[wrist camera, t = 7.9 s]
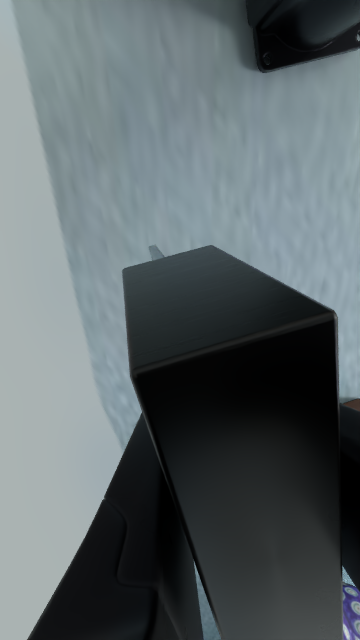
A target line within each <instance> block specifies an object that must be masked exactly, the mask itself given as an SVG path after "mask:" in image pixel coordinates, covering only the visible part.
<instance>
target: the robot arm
mask: <svg viewBox="0 0 360 640" xmlns="http://www.w3.org/2000/svg"><path fill="white" fill-rule="evenodd" d="M246 7H247V15H248V23H249V25H250V26H251V27H252V29H253V36H254V45H255V54H256V63H257V67H258V69H259V70H260V71H261V72H263V73H267V72H271V71H275V70H279V69H283V68H287V67H291V66H295V65H299V64H303V63H307V62H311V61H315V60H319V59H323V58H327V57H331V56H335V55H339V54H343V53H347V52H351V51H355V50H358V49H359V48H360V41H359V42H358V40H357V34H358V35H359V36H360V0H246ZM264 56H267V57H268V58H269V65H266V64H265V62H264ZM339 419H340V473H341V528H342V565H343V567H344V569H345V570H346V572H347V573H348V575H349V577H350V578H351V580H352V581H353V583H354V584H355V586H356V588H357V589H358V591H359V592H360V411H358V410H355V409H353V408H350V407H348V406H346V405H343V404H341V403H339ZM27 640H204V639H203V631H202V623H201V615H200V607H199V599H198V591H197V583H196V575H195V568H194V560H193V556H192V553H191V550H190V548H189V545H188V542H187V539H186V536H185V533H184V530H183V527H182V525H181V522H180V519H179V516H178V513H177V510H176V507H175V504H174V502H173V499H172V496H171V493H170V490H169V487H168V484H167V481H166V479H165V476H164V473H163V470H162V467H161V464H160V461H159V458H158V455H157V453H156V450H155V447H154V444H153V441H152V438H151V435H150V432H149V430H148V427H147V424H146V421H145V418H144V415H143V412H142V413H141V416H140V418H139V420H138V422H137V424H136V427H135V429H134V431H133V433H132V436H131V438H130V440H129V442H128V445H127V447H126V449H125V451H124V453H123V456H122V458H121V460H120V462H119V465H118V467H117V469H116V471H115V474H114V476H113V478H112V480H111V482H110V485H109V487H108V489H107V491H106V494H105V496H104V499H103V500H102V502H101V504H100V507H99V509H98V511H97V514H96V515H95V518H94V520H93V522H92V524H91V526H90V528H89V530H88V532H87V534H86V536H85V538H84V540H83V542H82V544H81V546H80V547H79V549H78V551H77V553H76V555H75V557H74V559H73V560H72V562H71V564H70V566H69V567H68V569H67V571H66V573H65V575H64V576H63V578H62V580H61V582H60V583H59V585H58V587H57V588H56V590H55V592H54V594H53V595H52V597H51V599H50V601H49V602H48V604H47V606H46V608H45V609H44V611H43V613H42V615H41V616H40V618H39V620H38V622H37V624H36V625H35V627H34V629H33V631H32V632H31V634H30V636H29V637H28V639H27Z"/></svg>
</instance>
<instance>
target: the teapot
mask: <svg viewBox="0 0 360 640" xmlns="http://www.w3.org/2000/svg"><path fill="white" fill-rule="evenodd" d="M342 582H343V581H342ZM343 637H344V640H360V592H359V591H358V589H357V588H356V587H355V586H353V585H350V584H347V583H345V582H343Z"/></svg>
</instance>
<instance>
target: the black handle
mask: <svg viewBox="0 0 360 640" xmlns="http://www.w3.org/2000/svg"><path fill="white" fill-rule="evenodd" d="M149 250H150V254H151V258H152V261H149V262H146V263H142V264H138V265H134V266H131V267H127V268H124V269H123V270H122V276H123V289H124V303H125V316H126V329H127V343H128V356H129V370H130V378H131V381H132V384H133V386H134V389H135V392H136V395H137V398H138V401H139V404H140V407H141V409H142V412H143V415H144V418H145V421H146V424H147V427H148V430H149V432H150V435H151V438H152V441H153V444H154V447H155V450H156V453H157V455H158V458H159V461H160V464H161V467H162V470H163V473H164V476H165V479H166V481H167V484H168V487H169V490H170V493H171V496H172V499H173V502H174V504H175V507H176V510H177V513H178V516H179V519H180V522H181V525H182V527H183V530H184V533H185V536H186V539H187V542H188V545H189V548H190V550H191V553H192V556H193V559H194V562H195V565H196V568H197V571H198V573H199V576H200V579H201V582H202V585H203V588H204V591H205V594H206V597H207V599H208V602H209V605H210V608H211V611H212V614H213V617H214V620H215V622H216V625H217V628H218V631H219V634H220V637H221V640H344V637H343V582H342V528H341V473H340V419H339V365H338V317H337V315H336V313H335V311H334V310H332V309H330V308H328V307H327V306H325V305H323V304H321V303H319V302H317V301H315V300H313V299H312V298H310V297H308V296H306V295H304V294H302V293H300V292H299V291H297V290H295V289H293V288H291V287H289V286H287V285H286V284H284V283H282V282H280V281H278V280H276V279H274V278H273V277H271V276H269V275H267V274H265V273H263V272H261V271H260V270H258V269H256V268H254V267H252V266H250V265H248V264H246V263H245V262H243V261H241V260H239V259H237V258H235V257H233V256H232V255H230V254H228V253H226V252H224V251H222V250H220V249H219V248H217V247H215V246H213V245H209V246H205V247H202V248H198V249H194V250H190V251H187V252H183V253H179V254H176V255H172V256H168V257H164V255H163V254H162V253H161V251H160V250H159V249H158V248H157V246H156V245H152V246H149Z"/></svg>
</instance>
